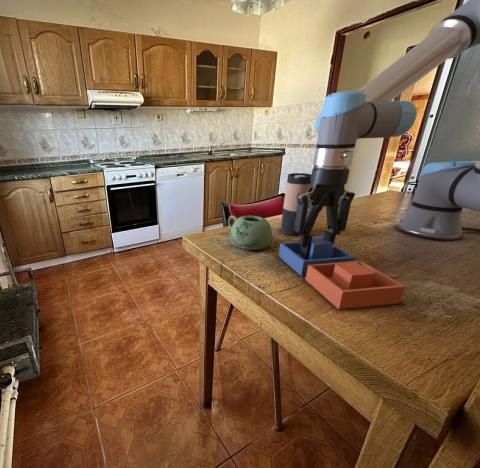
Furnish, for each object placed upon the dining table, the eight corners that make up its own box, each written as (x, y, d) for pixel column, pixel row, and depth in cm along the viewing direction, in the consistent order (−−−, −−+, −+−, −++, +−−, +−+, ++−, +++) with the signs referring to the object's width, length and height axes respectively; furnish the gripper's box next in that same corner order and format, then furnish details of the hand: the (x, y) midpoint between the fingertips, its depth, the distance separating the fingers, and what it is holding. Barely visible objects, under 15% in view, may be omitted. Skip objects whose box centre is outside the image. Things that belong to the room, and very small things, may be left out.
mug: (280, 245, 81) (283, 218, 77) (253, 256, 74) (256, 228, 71) (239, 231, 93) (241, 208, 90) (214, 240, 86) (215, 215, 83)
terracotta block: (351, 281, 59) (356, 262, 57) (368, 294, 55) (375, 273, 53) (330, 283, 59) (335, 263, 57) (346, 295, 54) (352, 275, 52)
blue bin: (321, 252, 75) (324, 239, 73) (351, 271, 64) (354, 257, 63) (278, 256, 74) (280, 243, 72) (301, 276, 63) (303, 261, 62)
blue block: (317, 252, 71) (320, 235, 69) (329, 260, 66) (333, 243, 64) (299, 253, 70) (302, 237, 69) (310, 262, 66) (314, 244, 64)
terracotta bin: (356, 275, 63) (360, 260, 61) (399, 303, 52) (405, 286, 51) (305, 279, 62) (308, 264, 60) (338, 309, 51) (342, 292, 50)
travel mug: (299, 228, 94) (308, 172, 86) (307, 236, 86) (318, 176, 79) (277, 228, 94) (284, 173, 87) (283, 236, 87) (292, 176, 80)
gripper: (303, 171, 56) (289, 265, 64) (381, 166, 57) (356, 260, 65) (285, 167, 63) (274, 252, 71) (354, 163, 64) (336, 247, 72)
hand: (314, 256), depth 68 cm, fingers closed on blue block, 5 cm apart
